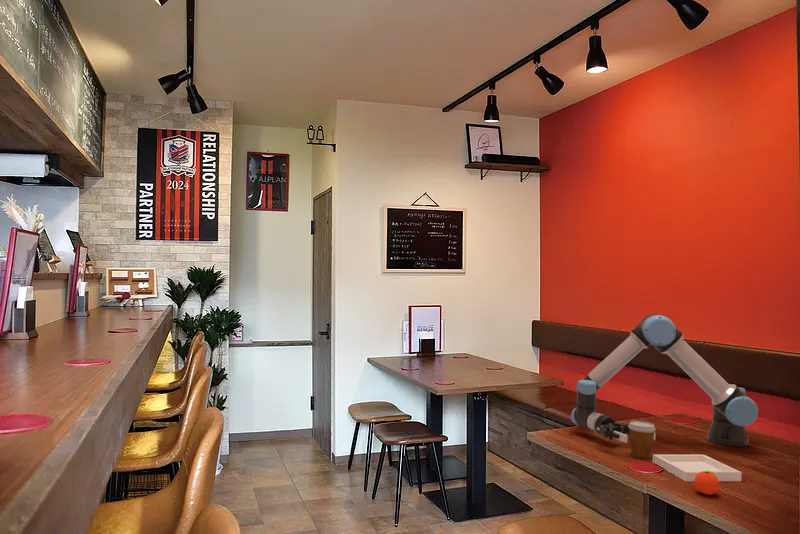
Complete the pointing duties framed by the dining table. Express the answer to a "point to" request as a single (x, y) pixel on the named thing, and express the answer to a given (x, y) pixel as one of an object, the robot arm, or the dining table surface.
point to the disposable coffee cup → (641, 438)
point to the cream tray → (696, 467)
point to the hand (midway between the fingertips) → (641, 437)
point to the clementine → (707, 482)
